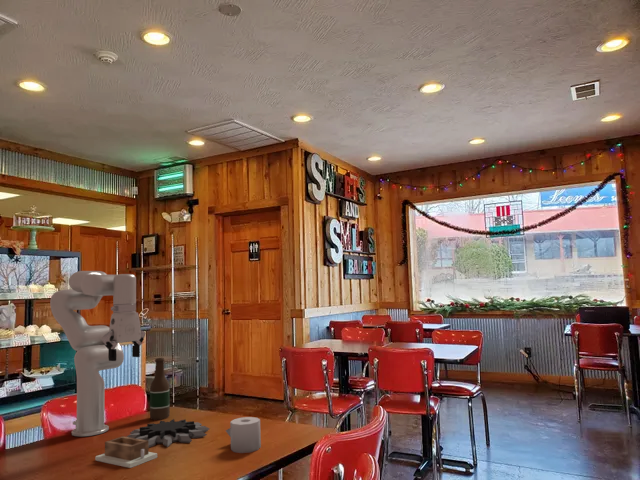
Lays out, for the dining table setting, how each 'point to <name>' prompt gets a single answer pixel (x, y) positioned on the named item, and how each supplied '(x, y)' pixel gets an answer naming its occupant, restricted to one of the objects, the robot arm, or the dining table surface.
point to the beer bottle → (159, 393)
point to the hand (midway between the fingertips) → (124, 358)
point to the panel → (126, 462)
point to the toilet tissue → (245, 434)
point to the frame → (126, 448)
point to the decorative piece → (169, 432)
